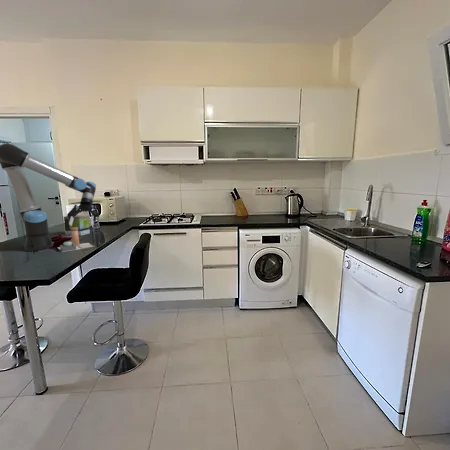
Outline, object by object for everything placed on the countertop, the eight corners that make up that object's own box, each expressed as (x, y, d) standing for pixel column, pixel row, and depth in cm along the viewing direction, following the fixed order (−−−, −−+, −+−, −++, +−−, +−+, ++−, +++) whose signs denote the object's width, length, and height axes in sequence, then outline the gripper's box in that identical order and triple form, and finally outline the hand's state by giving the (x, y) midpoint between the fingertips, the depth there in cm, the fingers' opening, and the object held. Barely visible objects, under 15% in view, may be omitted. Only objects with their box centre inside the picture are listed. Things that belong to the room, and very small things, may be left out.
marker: (73, 246, 169) (71, 228, 167) (71, 245, 172) (69, 227, 170) (80, 245, 172) (78, 227, 170) (78, 244, 175) (76, 226, 173)
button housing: (63, 251, 157) (62, 247, 157) (60, 249, 162) (60, 245, 162) (76, 249, 162) (75, 245, 162) (73, 247, 167) (72, 243, 167)
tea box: (90, 233, 215) (88, 215, 212) (80, 235, 205) (78, 217, 203) (75, 232, 219) (73, 214, 216) (65, 234, 209) (63, 216, 207)
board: (62, 253, 157) (62, 251, 157) (57, 249, 167) (57, 247, 167) (94, 248, 169) (94, 246, 169) (88, 244, 179) (88, 242, 179)
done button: (64, 247, 159) (64, 243, 158) (63, 246, 162) (62, 242, 162) (73, 246, 162) (72, 242, 161) (71, 245, 165) (70, 241, 165)
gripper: (106, 203, 194) (102, 227, 183) (70, 204, 191) (63, 228, 179) (104, 196, 188) (99, 221, 176) (66, 197, 185) (58, 222, 173)
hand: (81, 224), depth 178 cm, fingers open, 13 cm apart
